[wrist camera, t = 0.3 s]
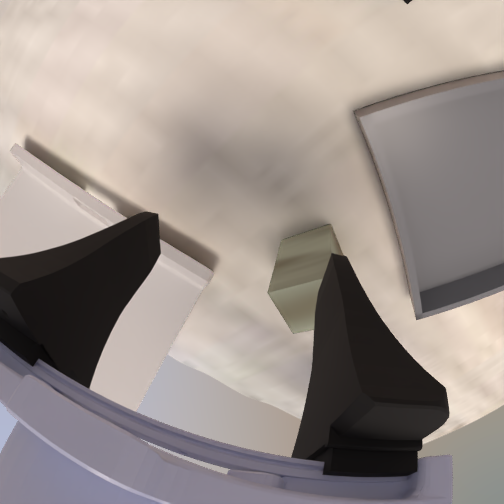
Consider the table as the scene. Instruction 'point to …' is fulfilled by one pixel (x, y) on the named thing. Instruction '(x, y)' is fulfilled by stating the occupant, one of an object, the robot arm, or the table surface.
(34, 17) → the table surface
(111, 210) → the tablet stand
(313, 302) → the block
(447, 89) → the tray
